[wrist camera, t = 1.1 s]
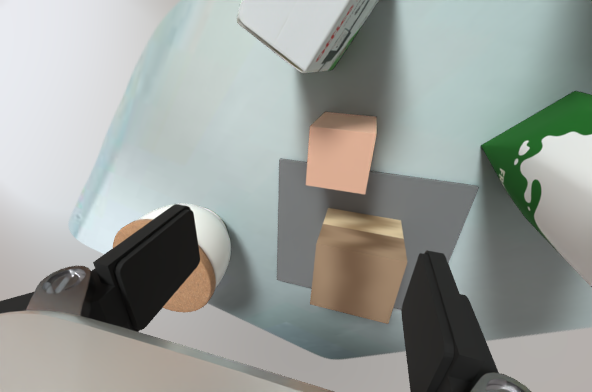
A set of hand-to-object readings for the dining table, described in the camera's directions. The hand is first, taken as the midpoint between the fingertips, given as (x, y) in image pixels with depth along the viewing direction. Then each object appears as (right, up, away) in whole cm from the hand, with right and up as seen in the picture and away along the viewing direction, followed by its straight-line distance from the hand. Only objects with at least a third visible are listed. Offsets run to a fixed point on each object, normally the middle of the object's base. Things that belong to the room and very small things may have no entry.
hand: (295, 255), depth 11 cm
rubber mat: (+7, -3, +21) cm, 23 cm away
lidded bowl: (-13, -2, +27) cm, 30 cm away
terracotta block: (+5, +8, +16) cm, 19 cm away
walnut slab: (+6, -5, +18) cm, 19 cm away
